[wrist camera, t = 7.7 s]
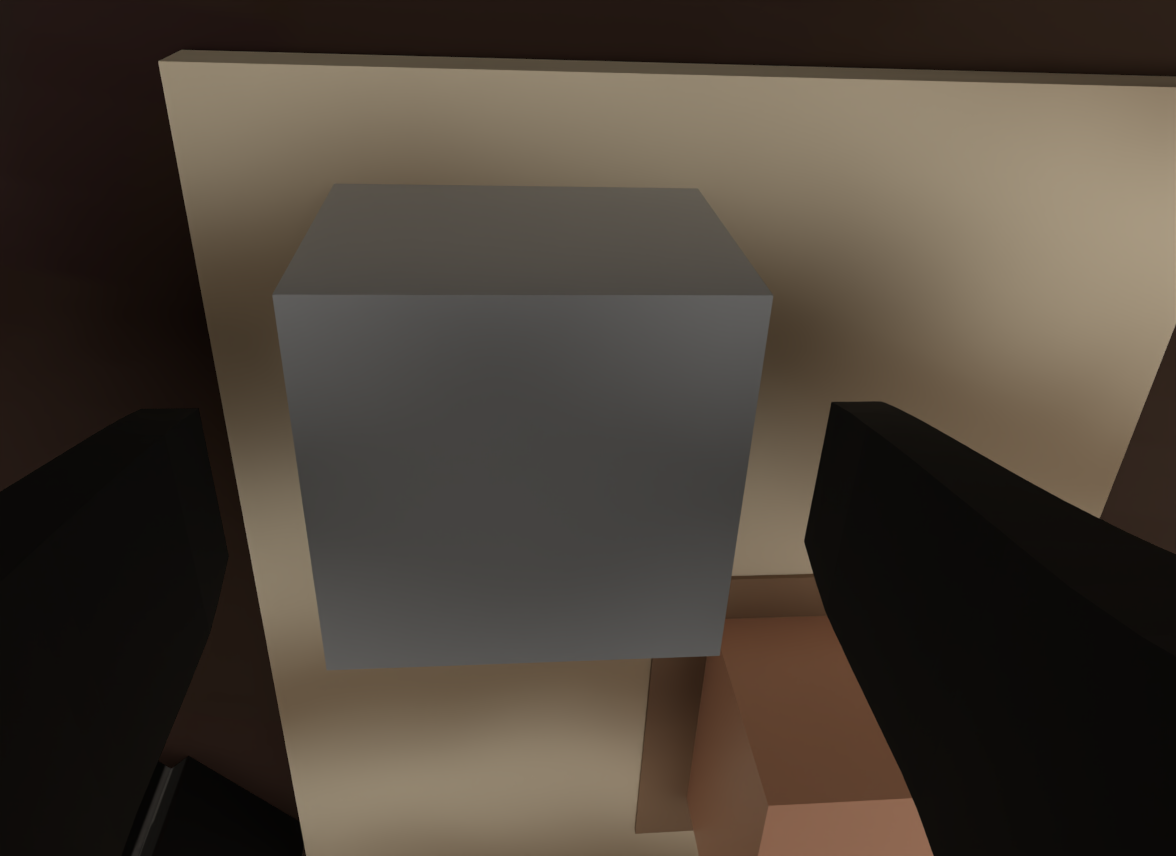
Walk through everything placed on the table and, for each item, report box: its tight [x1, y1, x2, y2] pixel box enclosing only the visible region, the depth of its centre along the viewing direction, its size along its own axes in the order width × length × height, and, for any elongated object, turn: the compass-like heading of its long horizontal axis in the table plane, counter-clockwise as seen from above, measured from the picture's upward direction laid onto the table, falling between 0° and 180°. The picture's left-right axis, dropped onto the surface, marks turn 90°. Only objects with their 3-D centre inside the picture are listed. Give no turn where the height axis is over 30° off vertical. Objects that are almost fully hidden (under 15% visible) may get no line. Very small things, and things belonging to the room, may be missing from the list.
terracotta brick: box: [687, 616, 933, 856], centre depth 17 cm, size 5×5×4 cm
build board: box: [158, 50, 1176, 856], centre depth 18 cm, size 23×15×1 cm, turn 178°
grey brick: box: [272, 184, 773, 670], centre depth 12 cm, size 5×5×4 cm
